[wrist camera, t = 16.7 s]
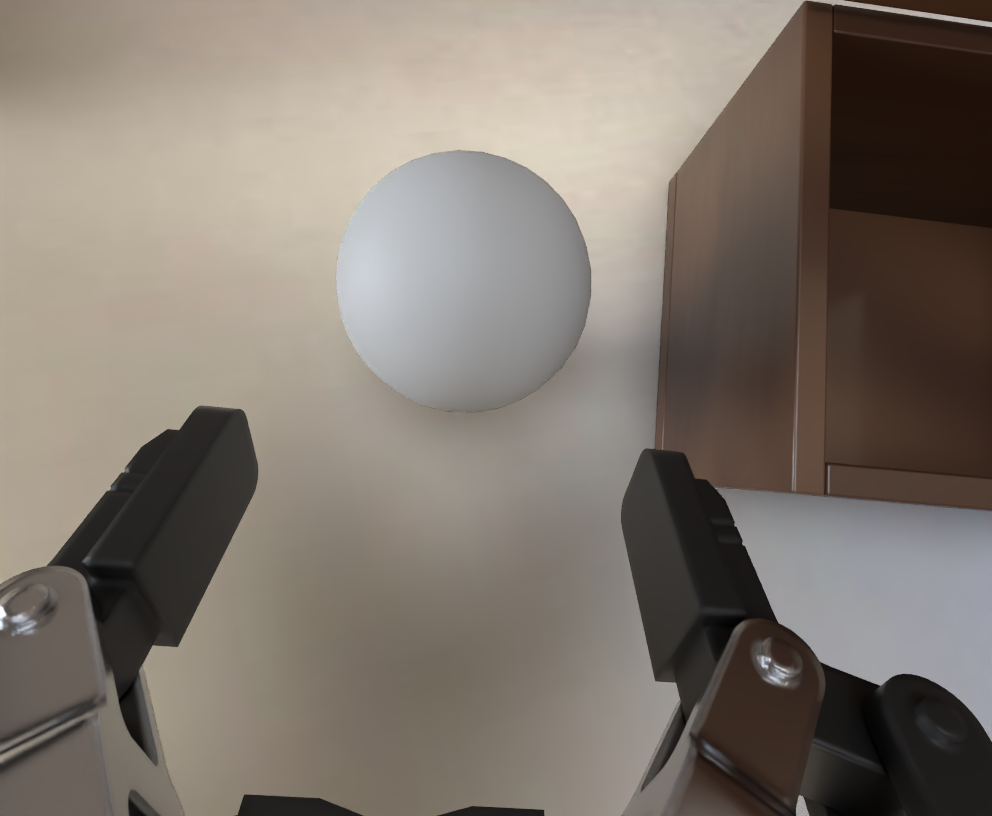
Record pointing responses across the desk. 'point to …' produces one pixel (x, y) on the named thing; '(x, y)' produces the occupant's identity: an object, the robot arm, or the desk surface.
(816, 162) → the chest
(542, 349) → the lightbulb
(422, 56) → the desk surface
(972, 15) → the lid
